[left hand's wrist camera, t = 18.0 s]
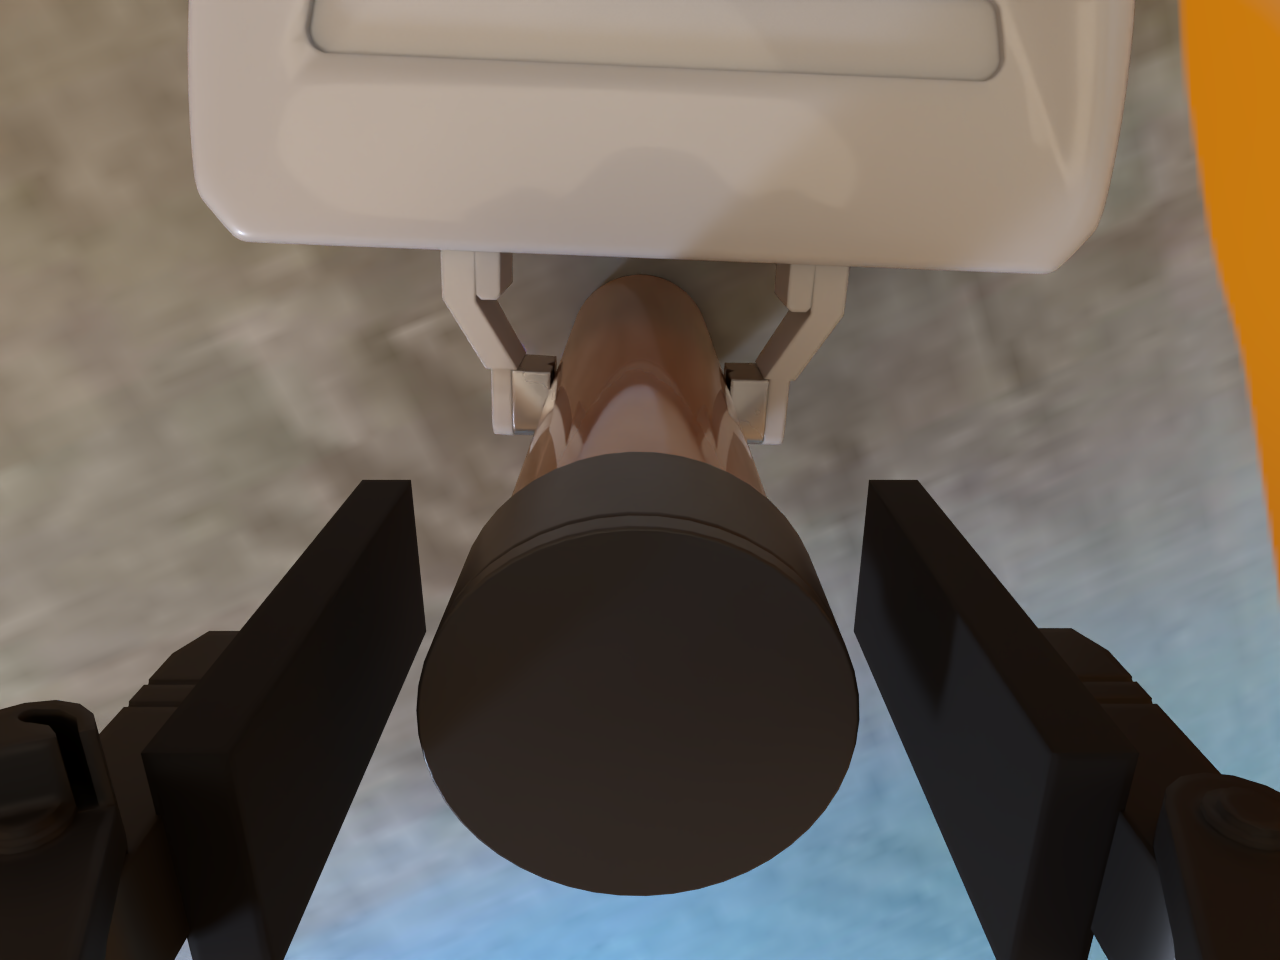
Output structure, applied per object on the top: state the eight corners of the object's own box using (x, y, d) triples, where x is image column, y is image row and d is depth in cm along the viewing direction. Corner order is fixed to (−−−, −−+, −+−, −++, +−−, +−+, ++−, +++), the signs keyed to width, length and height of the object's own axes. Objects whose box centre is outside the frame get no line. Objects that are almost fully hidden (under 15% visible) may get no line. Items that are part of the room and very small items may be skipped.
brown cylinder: (657, 245, 28) (690, 454, 9) (734, 360, 29) (893, 738, 11) (544, 327, 29) (372, 659, 10) (623, 434, 30) (596, 897, 12)
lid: (384, 629, 12) (327, 739, 10) (626, 370, 11) (622, 430, 9) (648, 822, 14) (649, 959, 11) (894, 611, 12) (952, 719, 10)
